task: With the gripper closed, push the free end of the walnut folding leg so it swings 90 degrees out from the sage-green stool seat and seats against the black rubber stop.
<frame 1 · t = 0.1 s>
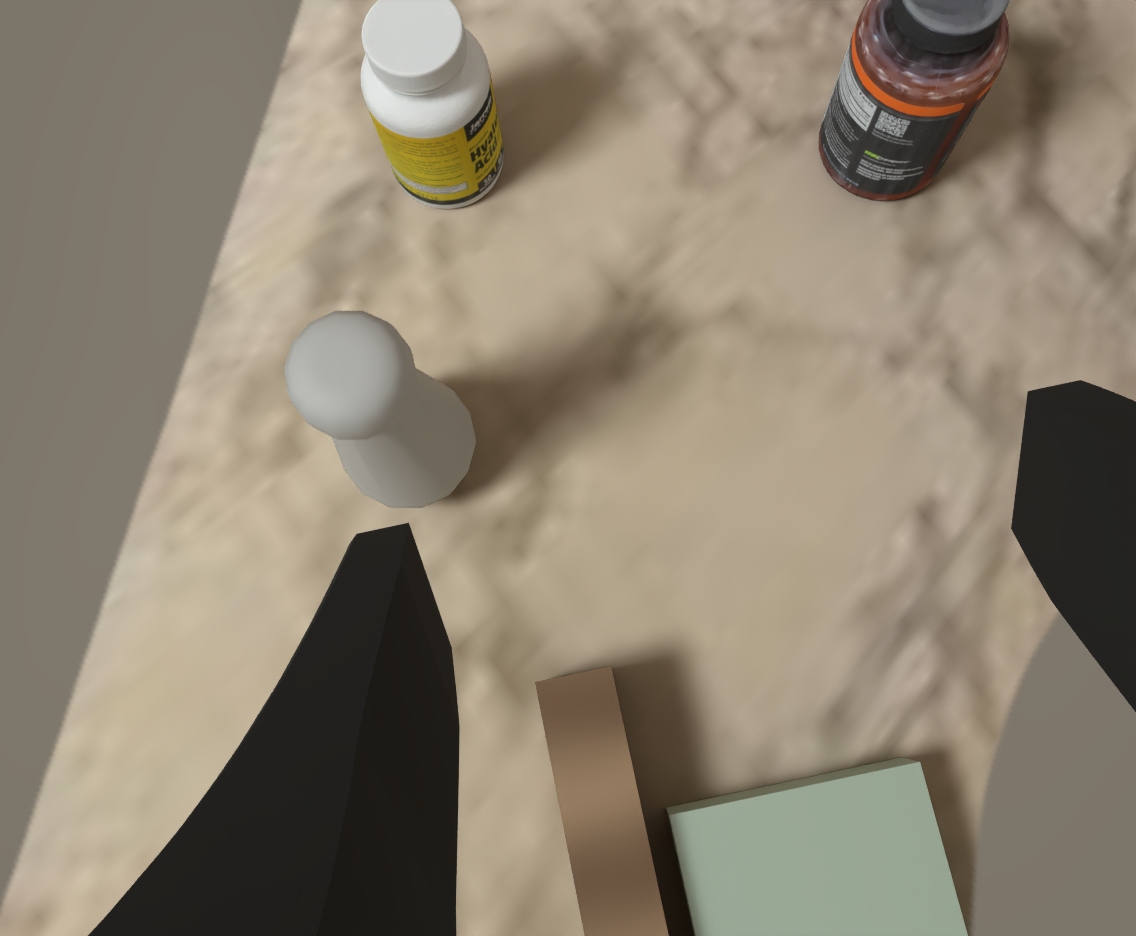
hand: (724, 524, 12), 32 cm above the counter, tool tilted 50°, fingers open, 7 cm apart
salt shaker: (419, 455, 45), on the counter
stool seat: (814, 909, 40), on the counter
supplement bottle 2: (450, 163, 48), on the counter
supplement bottle: (877, 150, 47), on the counter
folding leg: (618, 889, 38), point 2 cm above the counter, hinge at 0.0°
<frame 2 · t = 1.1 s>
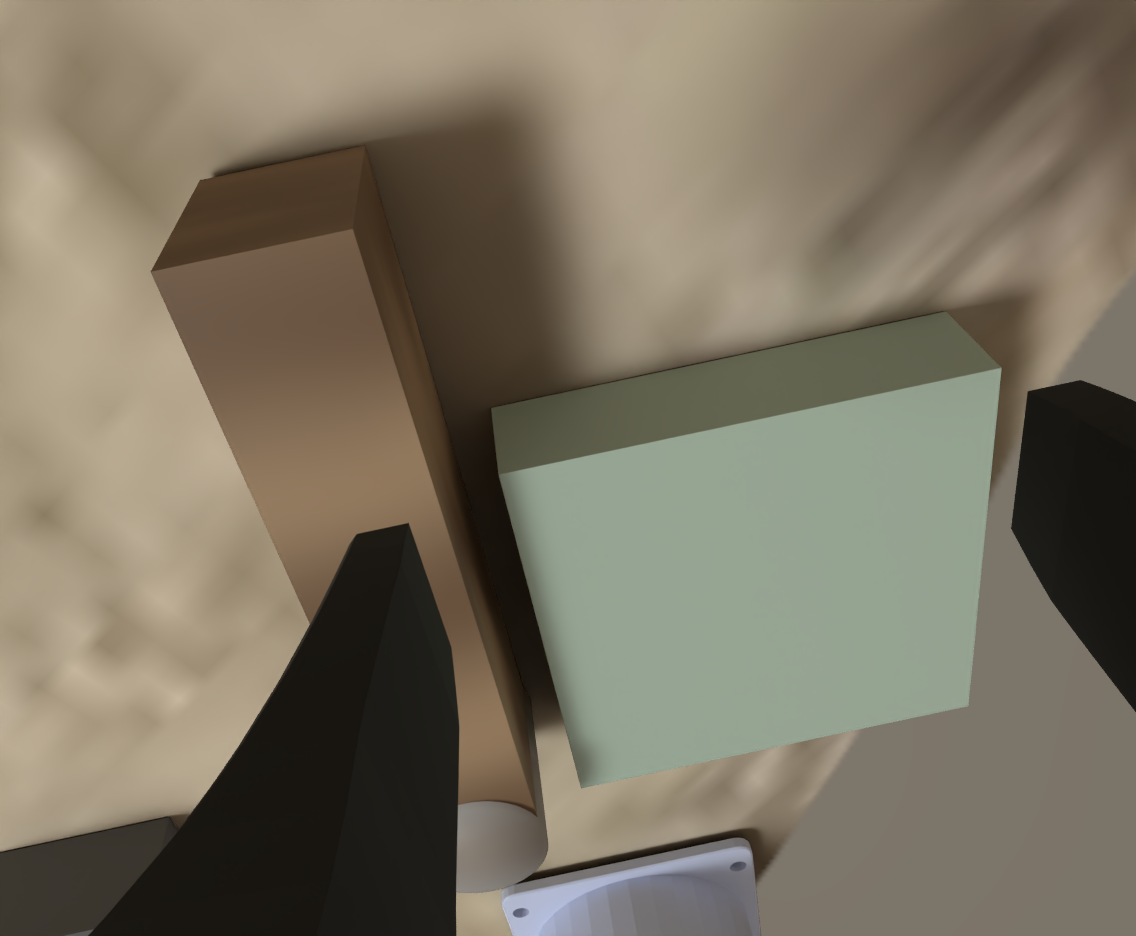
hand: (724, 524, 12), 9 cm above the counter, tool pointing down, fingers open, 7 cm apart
stool seat: (735, 535, 24), on the counter
folding leg: (404, 581, 21), point 2 cm above the counter, hinge at 0.0°
leg stop: (96, 856, 28), on the counter
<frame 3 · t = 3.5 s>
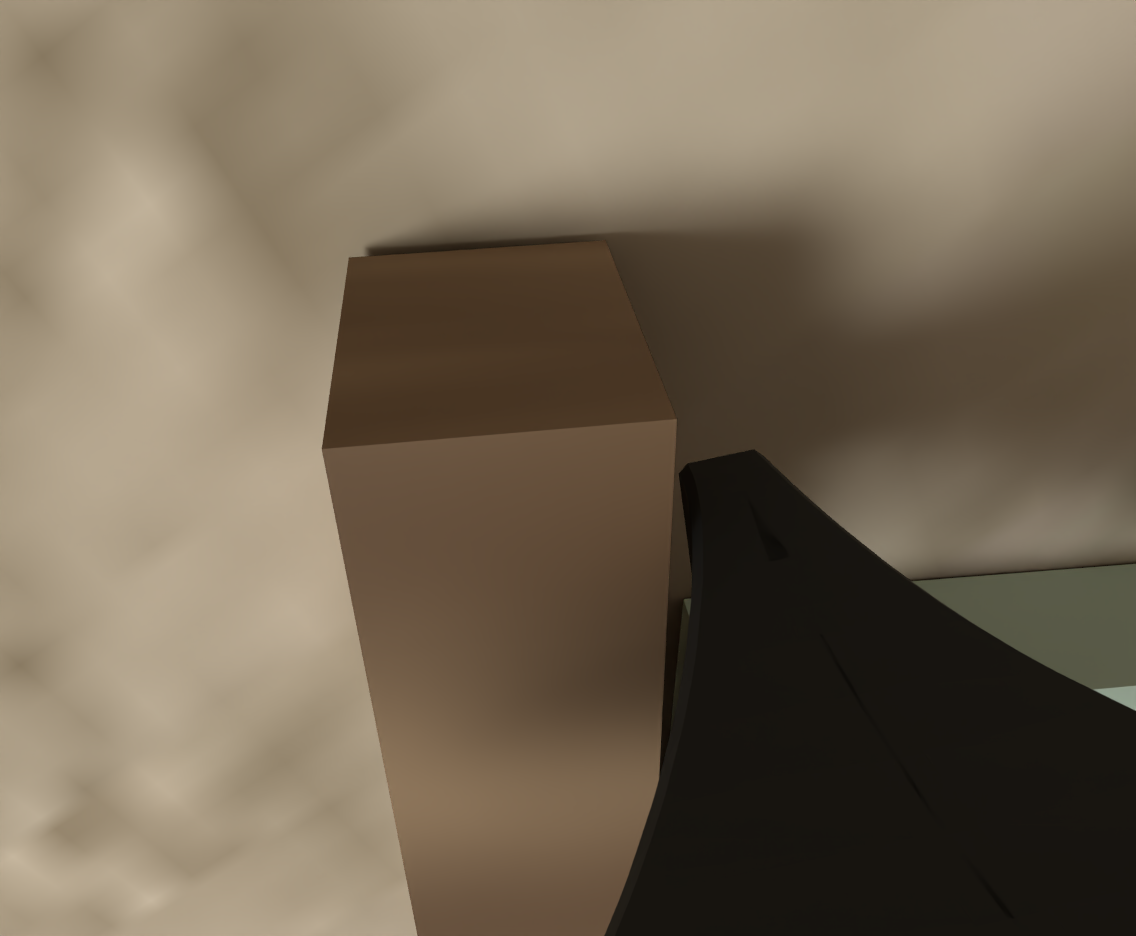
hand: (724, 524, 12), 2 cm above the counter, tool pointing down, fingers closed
stool seat: (921, 774, 19), on the counter
folding leg: (526, 834, 15), point 2 cm above the counter, hinge at 1.8°, touching gripper
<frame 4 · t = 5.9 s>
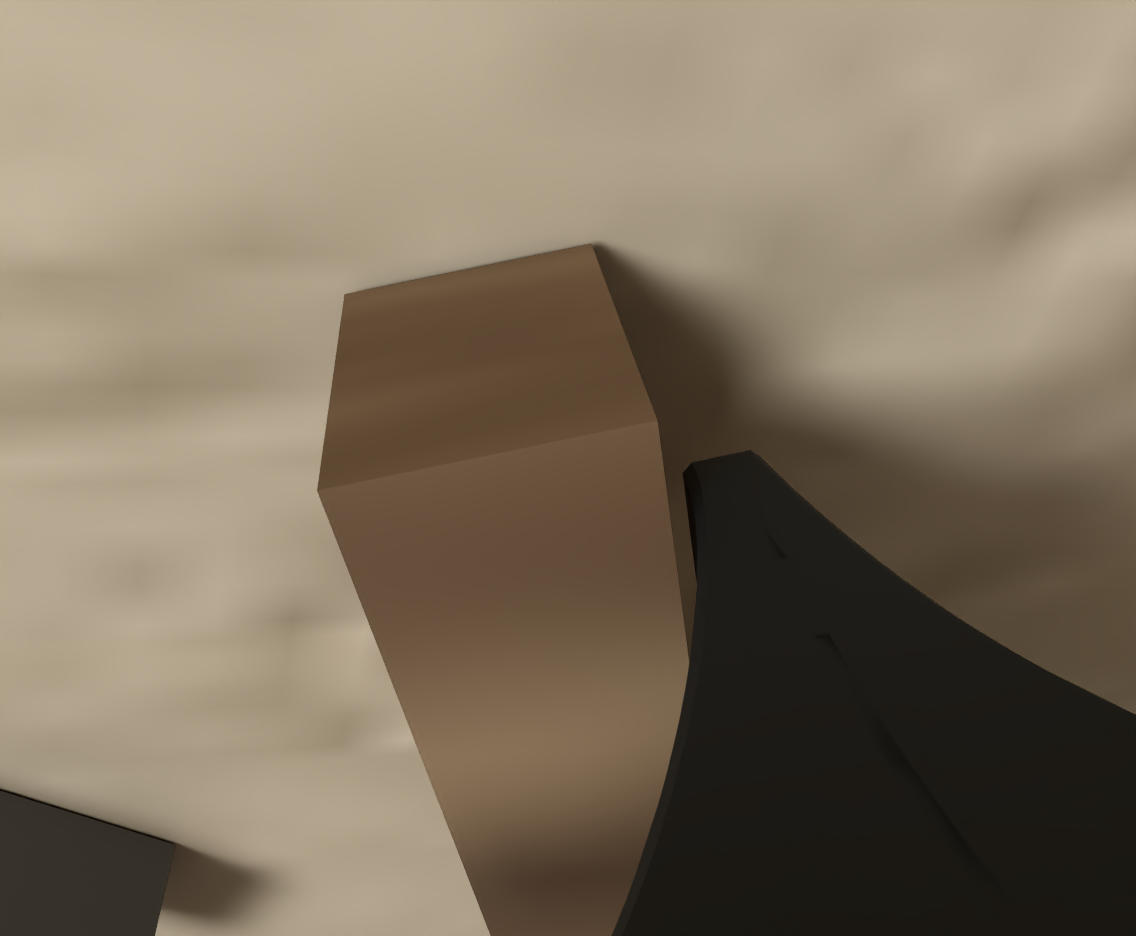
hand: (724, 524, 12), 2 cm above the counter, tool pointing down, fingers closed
folding leg: (594, 830, 15), point 2 cm above the counter, hinge at 48.0°, touching gripper
leg stop: (6, 833, 17), on the counter
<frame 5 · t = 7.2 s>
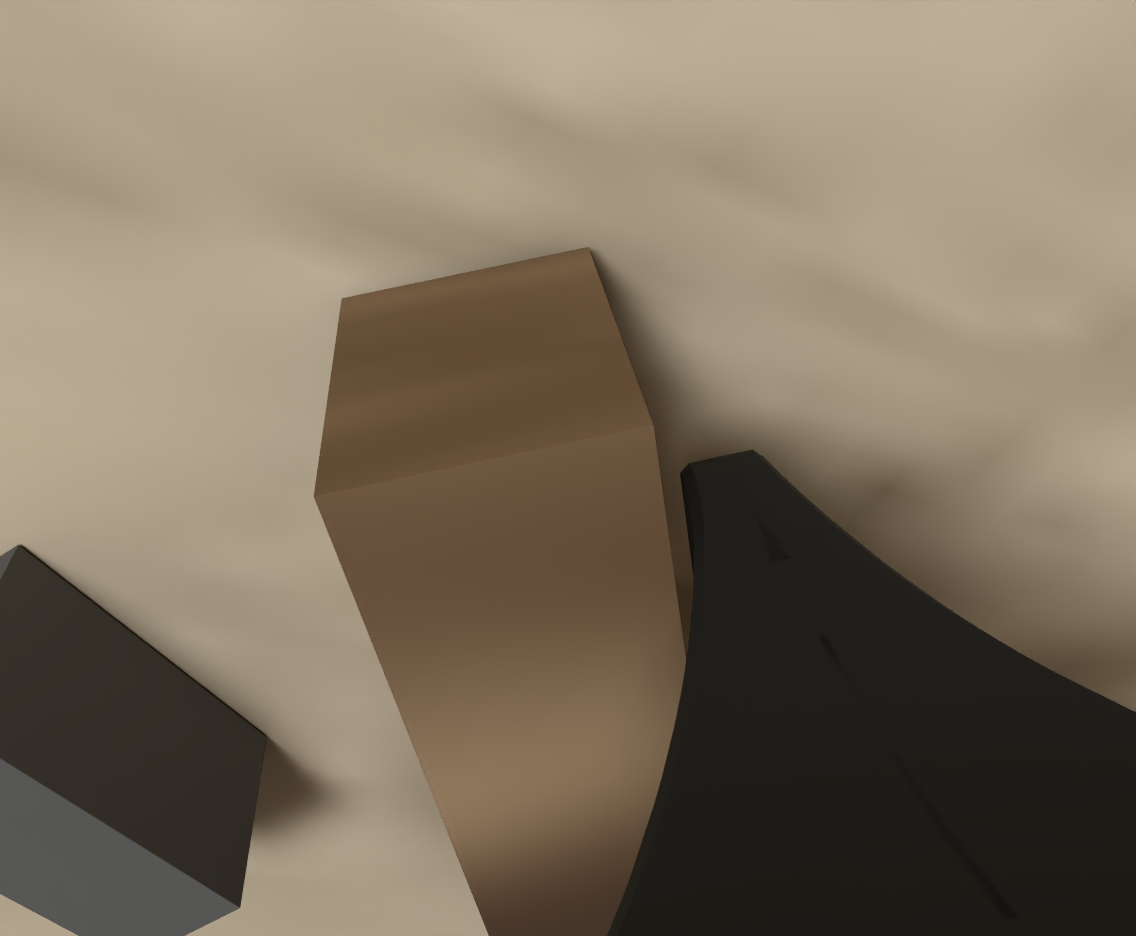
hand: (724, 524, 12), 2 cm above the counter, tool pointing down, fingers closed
folding leg: (594, 832, 15), point 2 cm above the counter, hinge at 68.7°, touching gripper
leg stop: (103, 679, 15), on the counter
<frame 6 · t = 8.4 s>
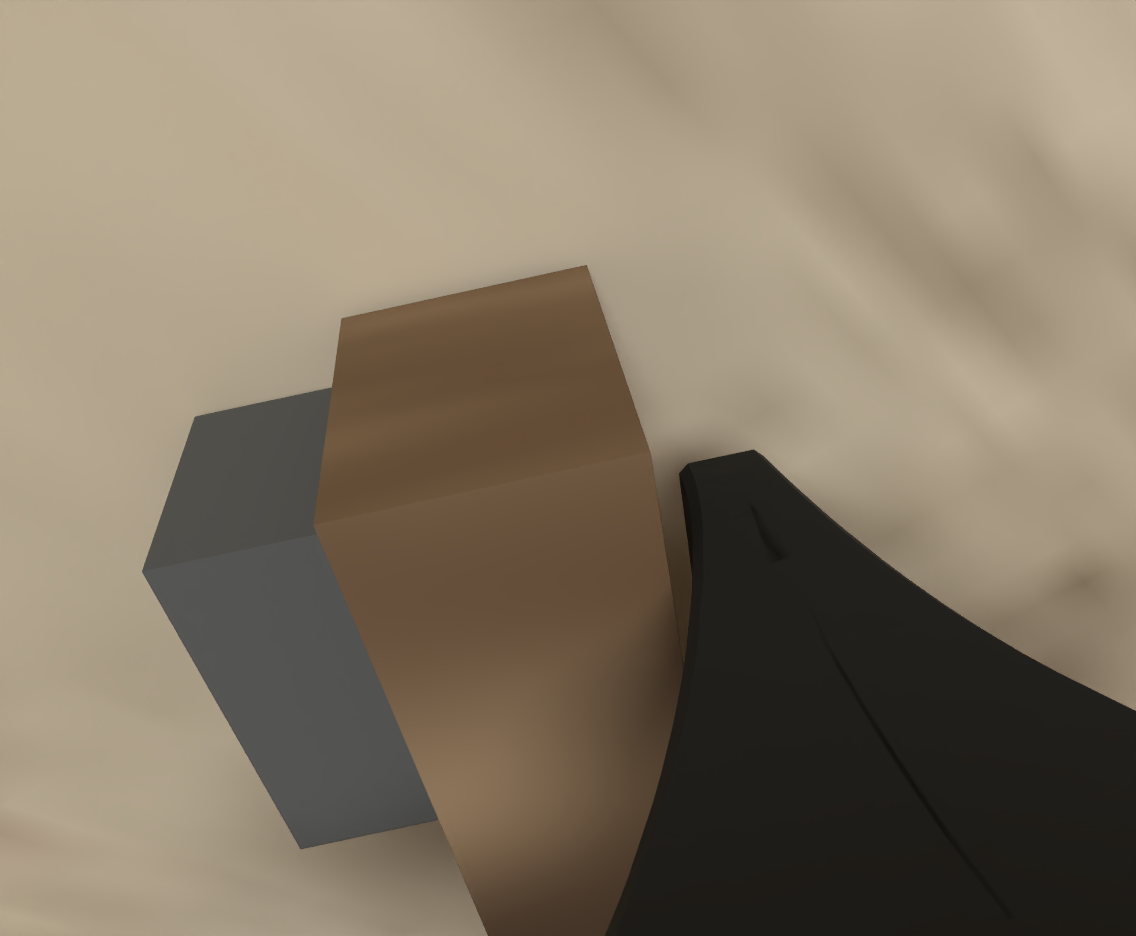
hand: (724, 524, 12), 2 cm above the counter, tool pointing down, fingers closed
folding leg: (598, 842, 15), point 2 cm above the counter, hinge at 90.3°, touching gripper
leg stop: (332, 547, 14), on the counter
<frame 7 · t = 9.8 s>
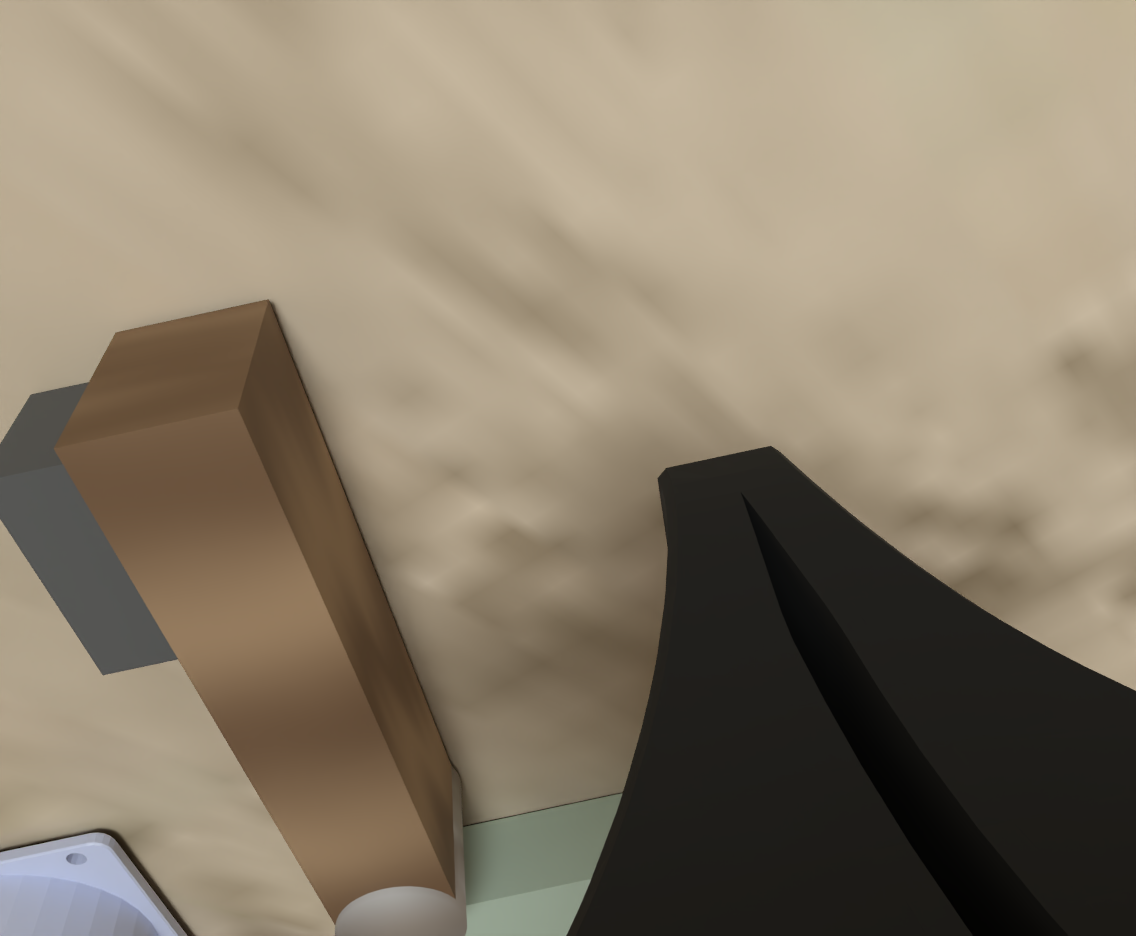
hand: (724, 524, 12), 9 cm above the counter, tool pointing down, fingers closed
stool seat: (585, 898, 32), on the counter
folding leg: (321, 686, 22), point 2 cm above the counter, hinge at 90.3°
leg stop: (133, 482, 21), on the counter
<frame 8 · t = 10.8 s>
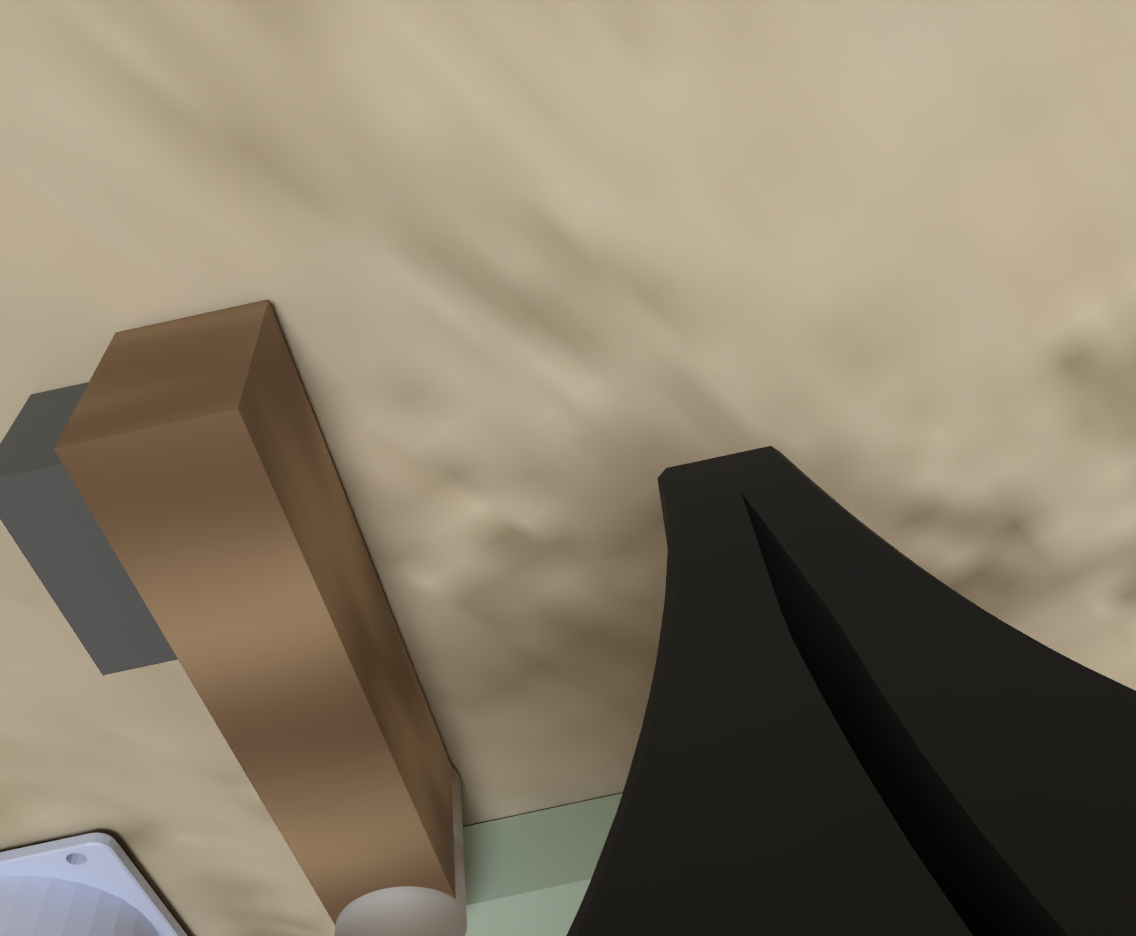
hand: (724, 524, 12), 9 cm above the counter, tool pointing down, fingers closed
stool seat: (585, 898, 32), on the counter
folding leg: (321, 686, 22), point 2 cm above the counter, hinge at 90.3°
leg stop: (133, 482, 21), on the counter
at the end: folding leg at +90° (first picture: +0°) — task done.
